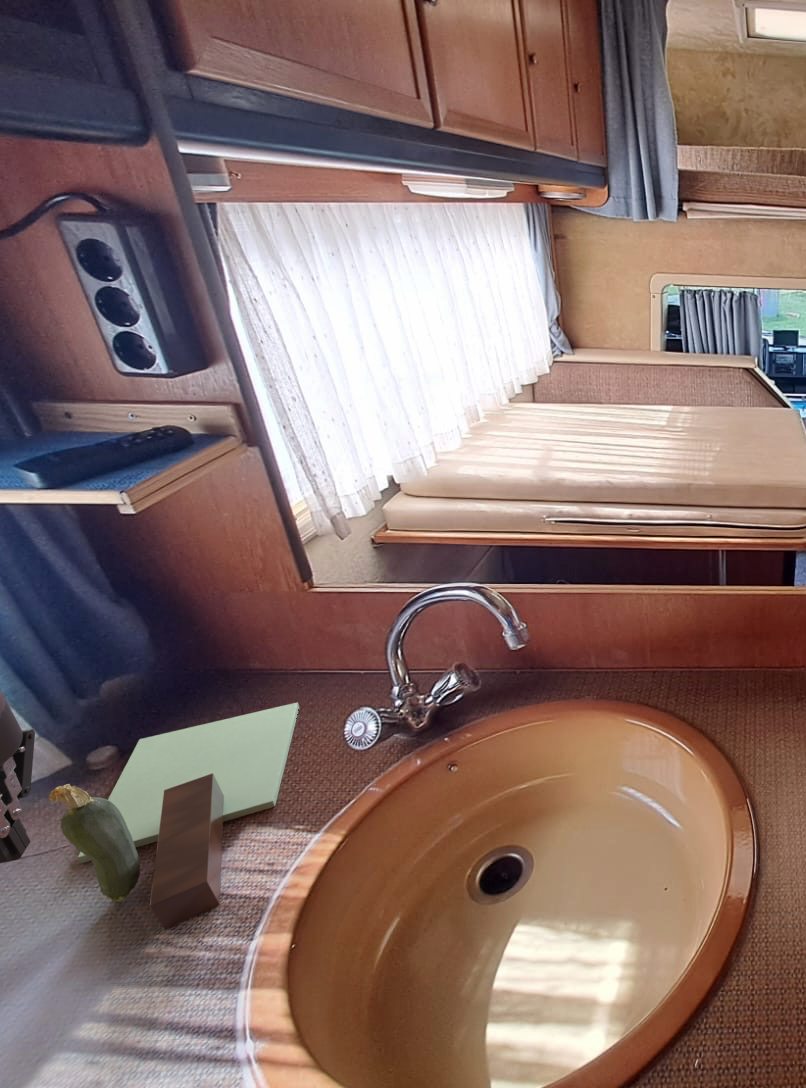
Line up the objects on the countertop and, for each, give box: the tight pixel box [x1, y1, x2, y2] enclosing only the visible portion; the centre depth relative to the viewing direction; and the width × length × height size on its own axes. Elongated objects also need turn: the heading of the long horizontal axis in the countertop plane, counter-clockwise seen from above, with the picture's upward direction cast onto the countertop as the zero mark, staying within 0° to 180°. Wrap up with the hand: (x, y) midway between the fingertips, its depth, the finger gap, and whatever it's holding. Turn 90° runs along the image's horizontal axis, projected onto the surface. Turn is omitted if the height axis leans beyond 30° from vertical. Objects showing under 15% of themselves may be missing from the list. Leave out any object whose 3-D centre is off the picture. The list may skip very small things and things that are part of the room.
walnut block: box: [149, 773, 224, 930], centre depth 80 cm, size 5×5×18 cm
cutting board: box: [77, 701, 300, 864], centre depth 93 cm, size 20×22×1 cm
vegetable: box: [48, 783, 141, 902], centre depth 73 cm, size 4×4×20 cm
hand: (9, 854), depth 55 cm, fingers closed
